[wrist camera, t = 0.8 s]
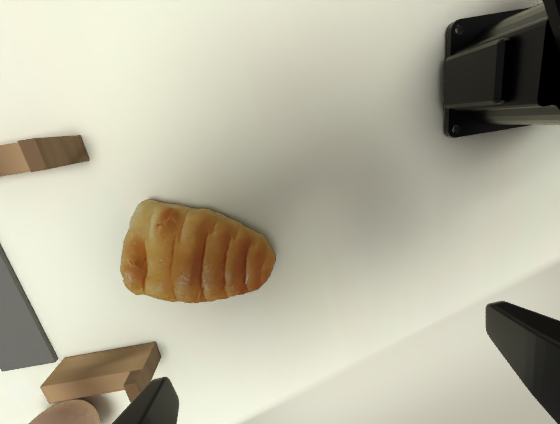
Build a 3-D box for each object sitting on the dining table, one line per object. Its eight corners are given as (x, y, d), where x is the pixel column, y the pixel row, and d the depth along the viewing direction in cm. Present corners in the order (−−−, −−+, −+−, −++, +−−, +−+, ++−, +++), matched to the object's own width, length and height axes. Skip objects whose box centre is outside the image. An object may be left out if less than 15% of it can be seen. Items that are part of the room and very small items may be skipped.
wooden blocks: (80, 135, 17) (34, 138, 13) (161, 357, 22) (142, 400, 19) (-37, 154, 17) (-114, 162, 13) (72, 372, 22) (36, 419, 19)
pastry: (281, 212, 19) (285, 233, 16) (266, 296, 21) (267, 332, 18) (139, 192, 18) (109, 210, 15) (138, 282, 20) (111, 317, 17)
